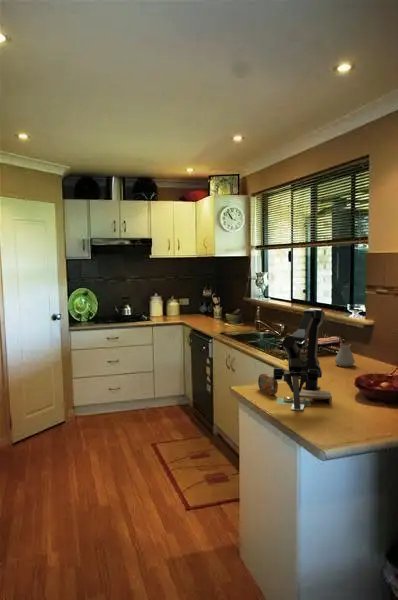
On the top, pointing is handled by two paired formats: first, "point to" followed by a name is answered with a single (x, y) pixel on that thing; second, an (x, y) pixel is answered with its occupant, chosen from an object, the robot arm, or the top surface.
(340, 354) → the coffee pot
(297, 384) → the grey l-shaped block
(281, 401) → the mat
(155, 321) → the top surface
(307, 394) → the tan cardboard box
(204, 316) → the top surface
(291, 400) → the token
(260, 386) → the tin
